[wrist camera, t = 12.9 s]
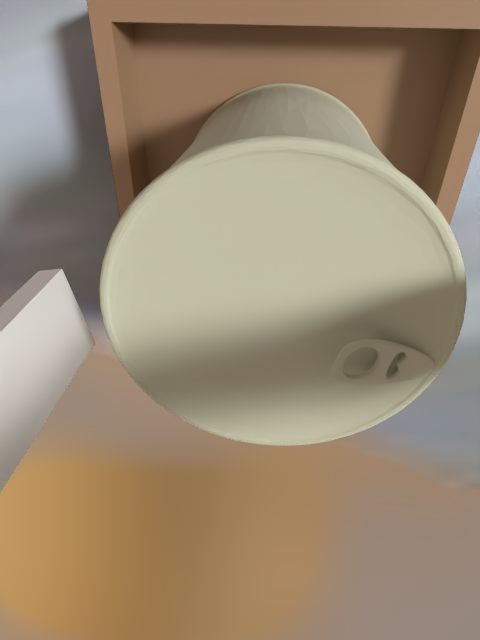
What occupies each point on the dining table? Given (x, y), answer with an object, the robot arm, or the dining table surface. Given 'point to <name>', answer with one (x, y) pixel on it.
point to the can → (283, 276)
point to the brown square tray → (291, 76)
